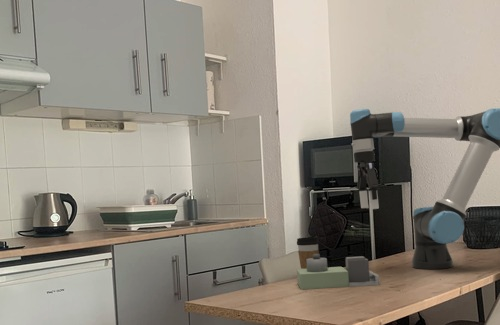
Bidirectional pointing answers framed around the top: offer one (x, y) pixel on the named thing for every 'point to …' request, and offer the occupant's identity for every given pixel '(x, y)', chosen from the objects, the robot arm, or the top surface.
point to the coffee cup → (307, 249)
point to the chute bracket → (373, 281)
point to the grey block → (357, 269)
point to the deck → (321, 275)
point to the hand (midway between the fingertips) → (369, 208)
